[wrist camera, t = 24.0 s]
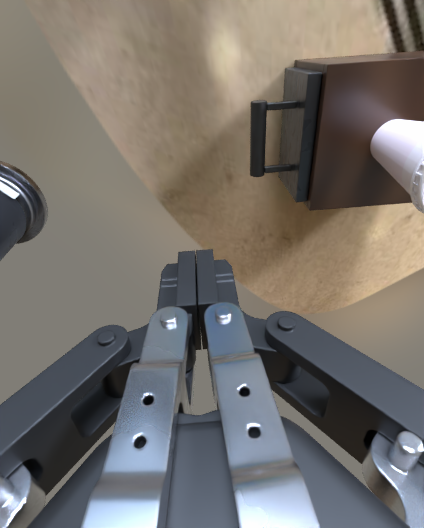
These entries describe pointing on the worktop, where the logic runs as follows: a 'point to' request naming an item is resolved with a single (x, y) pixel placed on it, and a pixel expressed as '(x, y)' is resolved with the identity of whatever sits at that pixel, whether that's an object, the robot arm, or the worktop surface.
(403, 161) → the smoothie
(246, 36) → the worktop surface
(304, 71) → the drawer
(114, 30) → the worktop surface
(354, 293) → the worktop surface
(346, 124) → the cabinet
